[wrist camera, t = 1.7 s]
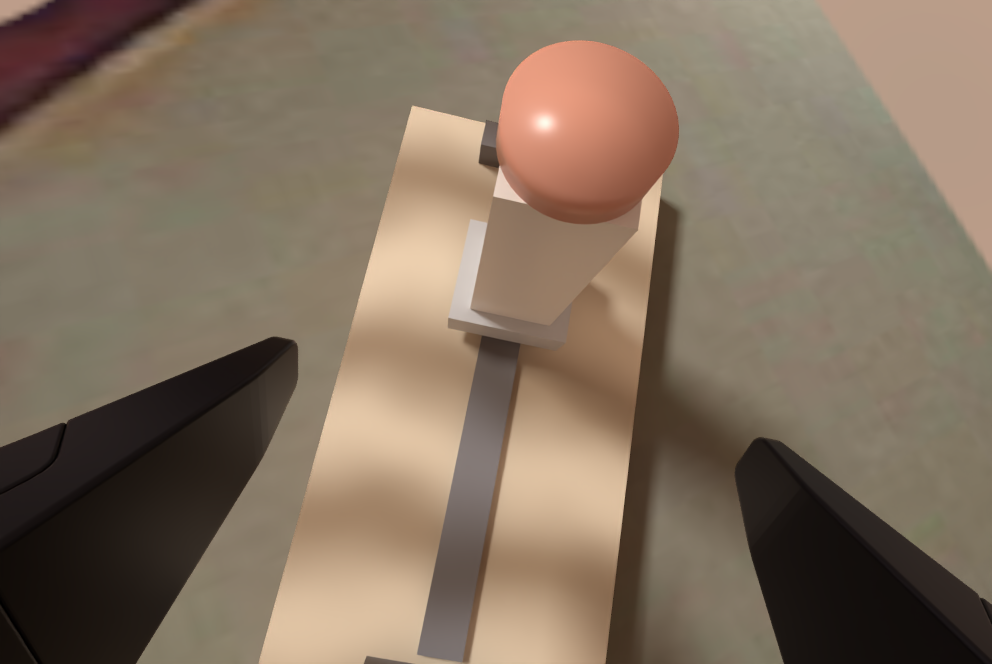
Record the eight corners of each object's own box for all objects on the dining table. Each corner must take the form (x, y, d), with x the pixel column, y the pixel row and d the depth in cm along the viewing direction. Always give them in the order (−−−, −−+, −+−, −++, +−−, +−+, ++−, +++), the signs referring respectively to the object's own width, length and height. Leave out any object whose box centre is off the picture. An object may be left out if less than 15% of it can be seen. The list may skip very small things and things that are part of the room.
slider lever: (555, 350, 19) (694, 239, 9) (447, 327, 19) (454, 183, 8) (570, 259, 20) (711, 58, 9) (468, 236, 20) (497, 3, 9)
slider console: (577, 729, 18) (607, 792, 15) (267, 679, 18) (227, 734, 14) (645, 188, 24) (677, 148, 21) (414, 133, 24) (410, 82, 20)
